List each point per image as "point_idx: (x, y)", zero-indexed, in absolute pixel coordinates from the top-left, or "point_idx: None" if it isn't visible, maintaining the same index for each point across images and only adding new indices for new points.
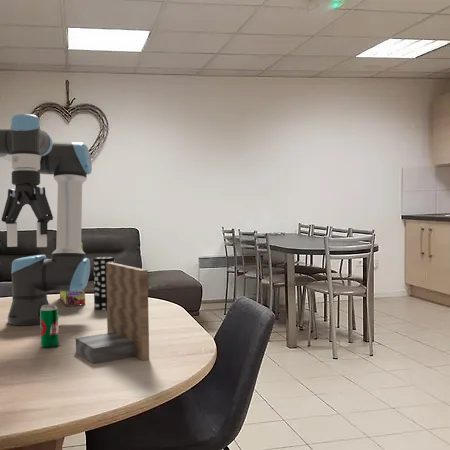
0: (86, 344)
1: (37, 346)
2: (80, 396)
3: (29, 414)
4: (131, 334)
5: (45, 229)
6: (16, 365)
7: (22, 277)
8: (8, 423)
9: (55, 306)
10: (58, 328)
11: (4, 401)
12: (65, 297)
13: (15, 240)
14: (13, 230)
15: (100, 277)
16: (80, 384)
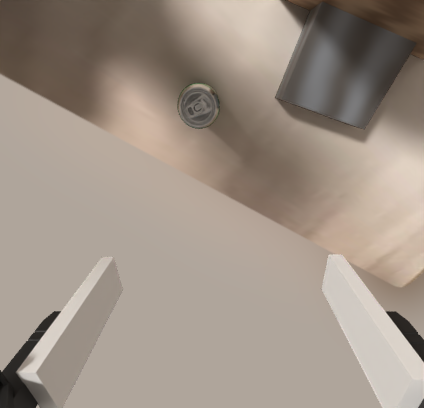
0: (333, 117)
1: None
2: (412, 215)
3: (391, 262)
4: (416, 35)
5: (419, 350)
6: (253, 194)
7: None
8: (387, 279)
9: (215, 99)
10: (211, 87)
11: None
12: None
13: (102, 285)
14: (77, 343)
15: None
16: (388, 193)
